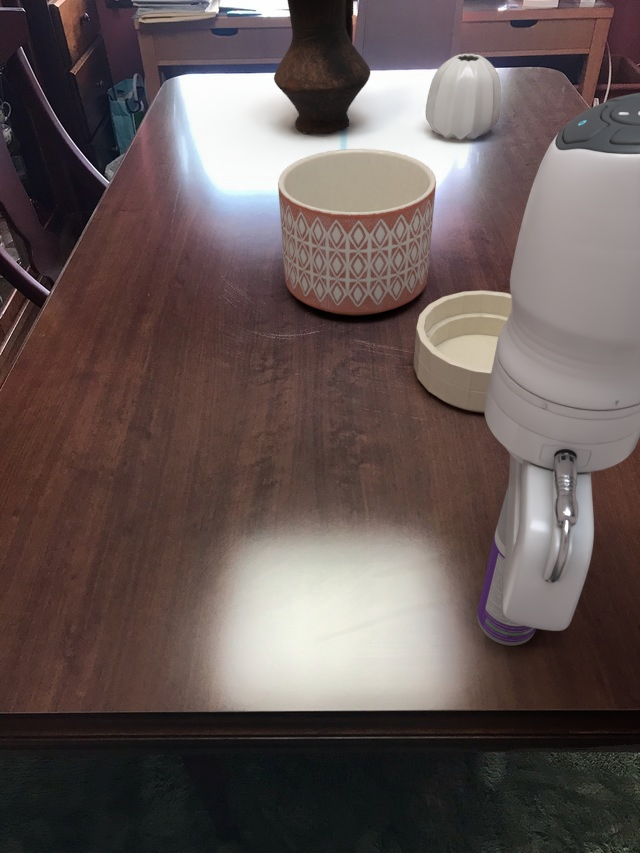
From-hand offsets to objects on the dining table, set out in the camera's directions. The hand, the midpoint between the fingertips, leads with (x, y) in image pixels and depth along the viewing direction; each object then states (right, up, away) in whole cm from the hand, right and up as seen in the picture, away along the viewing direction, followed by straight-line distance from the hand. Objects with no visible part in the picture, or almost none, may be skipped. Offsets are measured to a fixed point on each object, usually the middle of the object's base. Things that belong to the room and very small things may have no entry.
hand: (521, 545), depth 49 cm
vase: (+13, +66, +85) cm, 108 cm away
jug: (-13, +69, +90) cm, 115 cm away
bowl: (+4, +15, +30) cm, 34 cm away
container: (+1, -7, +6) cm, 10 cm away
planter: (-10, +28, +45) cm, 54 cm away
